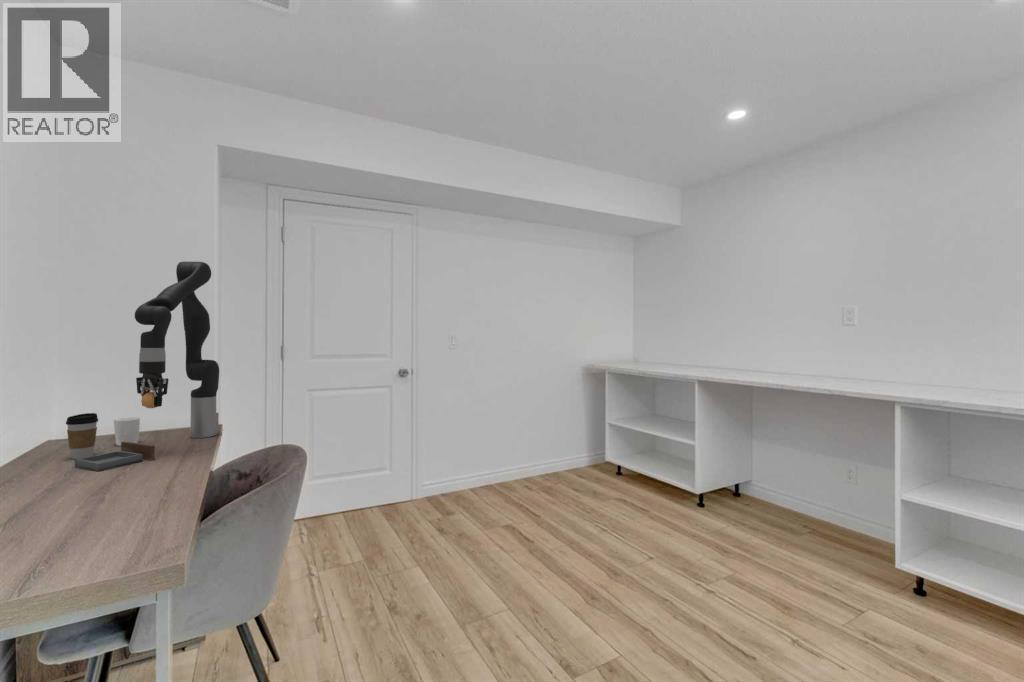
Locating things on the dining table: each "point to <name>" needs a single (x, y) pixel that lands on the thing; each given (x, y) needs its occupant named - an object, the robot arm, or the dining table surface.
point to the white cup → (127, 429)
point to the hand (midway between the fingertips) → (151, 405)
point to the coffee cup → (82, 434)
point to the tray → (108, 460)
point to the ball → (148, 400)
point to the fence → (139, 449)
